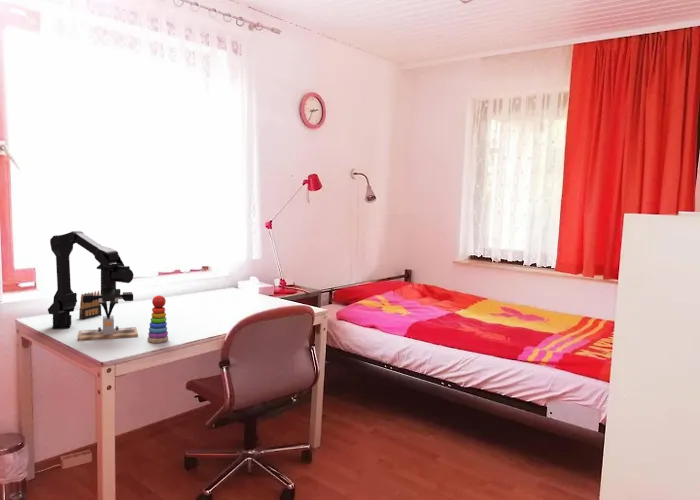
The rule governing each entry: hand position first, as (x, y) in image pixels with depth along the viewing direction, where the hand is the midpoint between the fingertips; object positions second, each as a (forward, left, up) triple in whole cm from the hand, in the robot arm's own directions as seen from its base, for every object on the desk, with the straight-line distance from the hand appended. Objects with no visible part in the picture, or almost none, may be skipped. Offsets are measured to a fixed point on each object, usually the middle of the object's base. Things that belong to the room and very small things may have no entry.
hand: (108, 317), depth 213 cm
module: (0, 0, -6) cm, 6 cm away
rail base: (0, 0, -7) cm, 7 cm away
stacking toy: (+18, -14, -7) cm, 24 cm away
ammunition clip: (-7, +33, -8) cm, 35 cm away
